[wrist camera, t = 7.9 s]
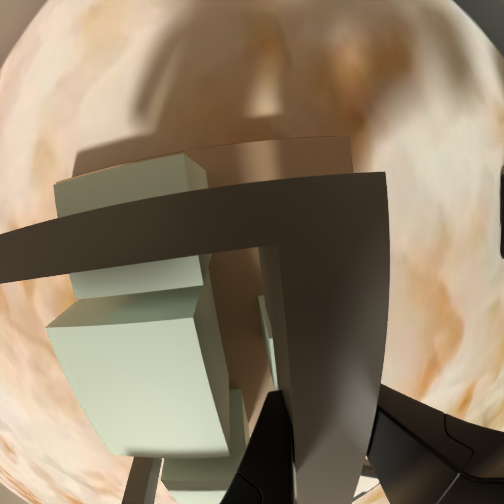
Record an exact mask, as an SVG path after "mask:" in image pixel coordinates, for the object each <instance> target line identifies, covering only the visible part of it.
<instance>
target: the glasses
mask: <svg viewBox="0 0 504 504" xmlns="http://www.w3.org/2000/svg"><path fill="white" fill-rule="evenodd" d="M255 247H258V250H259V259H260V267H261V275H262V283H263V292H264V300H265V308H266V311H267V314H268V318H269V321H270V324H271V329H272V338H273V347H274V356H275V365H276V374H277V384H278V390H281V391H282V394H283V398H284V401H285V404H286V407H287V411H288V414H289V418H290V422H291V435H292V451H293V468H294V491H295V504H351V503H352V500H353V497H354V494H355V491H356V488H357V485H358V482H359V478H360V475H361V472H362V468H363V464H364V461H365V457H366V453H367V449H368V445H369V441H370V436H371V432H372V427H373V423H374V418H375V413H376V407H377V402H378V396H379V390H380V384H381V377H382V370H383V362H384V354H385V344H386V334H387V321H388V306H389V281H390V238H389V213H388V197H387V185H386V174H385V172H368V173H349V174H334V175H320V176H308V177H297V178H287V179H277V180H268V181H259V182H251V183H243V184H235V185H227V186H220V187H213V188H206V189H200V190H193V191H187V192H181V193H175V194H169V195H164V196H158V197H153V198H147V199H142V200H137V201H132V202H127V203H122V204H117V205H112V206H108V207H103V208H98V209H94V210H90V211H85V212H81V213H77V214H73V215H69V216H65V217H61V218H57V219H53V220H49V221H45V222H42V223H38V224H34V225H31V226H27V227H24V228H20V229H17V230H13V231H10V232H7V233H3V234H0V284H1V283H8V282H15V281H21V280H28V279H35V278H42V277H49V276H56V275H63V274H70V273H76V272H83V271H90V270H97V269H104V268H111V267H118V266H125V265H133V264H140V263H147V262H154V261H161V260H168V259H175V258H182V257H190V256H197V255H204V254H211V253H218V252H226V251H233V250H240V249H247V248H255ZM161 462H162V459H161V458H148V457H134V460H133V463H132V467H131V470H130V474H129V478H128V481H127V485H126V489H125V492H124V496H123V500H122V504H154V500H155V494H156V488H157V483H158V477H159V472H160V467H161Z"/></svg>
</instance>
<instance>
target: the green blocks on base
mask: <svg viewBox="0 0 504 504" xmlns="http://www.w3.org/2000/svg"><path fill="white" fill-rule="evenodd" d="M349 173H353V166H352V158H351V150H350V143H349V136H332V137H307V138H291V139H277V140H266V141H256V142H246V143H238V144H230V145H222V146H215V147H208V148H201V149H195V150H189V151H183V152H177V153H172V154H167V155H161V156H156V157H151V158H147V159H142V160H137V161H133V162H129V163H124V164H120V165H116V166H112V167H108V168H104V169H100V170H96V171H93V172H89V173H85V174H82V175H78V176H75V177H72V178H68V179H65V180H62V181H59V182H56V184H55V185H54V194H55V202H56V209H57V216H58V218H61V217H65V216H69V215H73V214H77V213H81V212H85V211H90V210H94V209H98V208H103V207H108V206H112V205H117V204H122V203H127V202H132V201H137V200H142V199H147V198H153V197H158V196H164V195H169V194H175V193H181V192H187V191H193V190H200V189H206V188H213V187H220V186H227V185H235V184H243V183H251V182H259V181H268V180H277V179H287V178H297V177H308V176H320V175H334V174H349ZM69 275H70V279H71V283H72V286H73V290H74V294H75V297H76V299H79V300H78V301H76V302H75V303H74V304H73V305H71V306H70V307H69V308H68V309H67V310H65V311H64V312H63V313H62V314H61V315H59V316H58V317H57V318H56V319H55V320H54V321H52V322H51V323H50V324H49V325H48V326H47V327H45V328H46V331H47V334H48V336H49V339H50V342H51V344H52V347H53V349H54V352H55V354H56V356H57V359H58V361H59V363H60V365H61V368H62V370H63V372H64V374H65V376H66V378H67V380H68V383H69V385H70V387H71V389H72V391H73V393H74V394H75V396H76V398H77V400H78V402H79V404H80V406H81V408H82V409H83V411H84V413H85V415H86V416H87V418H88V420H89V422H90V423H91V425H92V427H93V428H94V430H95V432H96V433H97V435H98V436H99V438H100V439H101V441H102V442H103V444H104V446H105V447H106V449H107V450H108V451H109V453H110V454H114V455H123V456H134V457H148V458H165V459H164V465H163V470H162V476H161V481H162V482H163V484H164V485H165V487H166V488H167V489H168V491H169V492H170V494H171V495H172V496H173V498H174V499H175V500H176V502H177V503H178V504H219V503H220V502H221V500H222V498H223V497H224V495H225V493H226V491H227V489H228V487H229V485H230V483H231V481H232V479H233V476H234V474H235V473H236V470H237V468H238V465H239V463H240V461H241V458H242V456H243V454H244V451H245V449H246V446H247V444H248V442H249V439H250V435H249V434H252V432H253V429H254V427H255V424H256V422H257V419H258V417H259V414H260V412H261V409H262V406H263V404H264V401H265V398H266V396H267V393H268V392H270V391H275V390H278V384H277V374H276V365H275V356H274V347H273V338H272V329H271V324H270V321H269V318H268V314H267V311H266V308H265V300H264V292H263V283H262V275H261V267H260V259H259V250H258V247H255V248H247V249H240V250H233V251H226V252H218V253H211V254H204V255H197V256H190V257H182V258H175V259H168V260H161V261H154V262H147V263H140V264H133V265H125V266H118V267H111V268H104V269H97V270H90V271H83V272H76V273H70V274H69Z"/></svg>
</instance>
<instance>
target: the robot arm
mask: <svg viewBox="0 0 504 504" xmlns="http://www.w3.org/2000/svg"><path fill="white" fill-rule="evenodd" d="M502 192H503V233H502V250H501V256H502V258H503V259H504V174H503V175H502ZM366 456H367V458H368V460H369V462H370V464H371V466H372V468H373V470H374V472H375V474H376V476H377V478H378V480H379V482H380V484H381V486H382V488H383V490H384V492H385V494H386V496H387V498H388V500H389V502H390V504H504V432H501V431H497V430H493V429H489V428H486V427H482V426H479V425H475V424H472V423H469V422H466V421H464V420H461V419H458V418H456V417H453V416H451V415H449V414H444V412H442V411H439V410H437V409H435V408H432V407H430V406H428V405H426V404H423V403H421V402H419V401H417V400H415V399H413V398H410V397H408V396H406V395H404V394H402V393H400V392H398V391H396V390H393V389H391V388H389V387H387V386H385V385H383V384H380V390H379V396H378V402H377V407H376V413H375V418H374V423H373V427H372V432H371V436H370V441H369V445H368V449H367V453H366ZM219 504H295V491H294V468H293V451H292V435H291V422H290V418H289V414H288V411H287V407H286V404H285V401H284V398H283V394H282V391H281V390H275V391H270V392H268V393H267V396H266V398H265V401H264V404H263V406H262V409H261V412H260V414H259V417H258V419H257V422H256V424H255V427H254V429H253V432H252V434H251V437H250V439H249V442H248V444H247V446H246V449H245V451H244V454H243V456H242V458H241V461H240V463H239V465H238V468H237V470H236V473H235V474H234V476H233V479H232V481H231V483H230V485H229V487H228V489H227V491H226V493H225V495H224V497H223V498H222V500H221V502H220V503H219Z"/></svg>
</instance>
